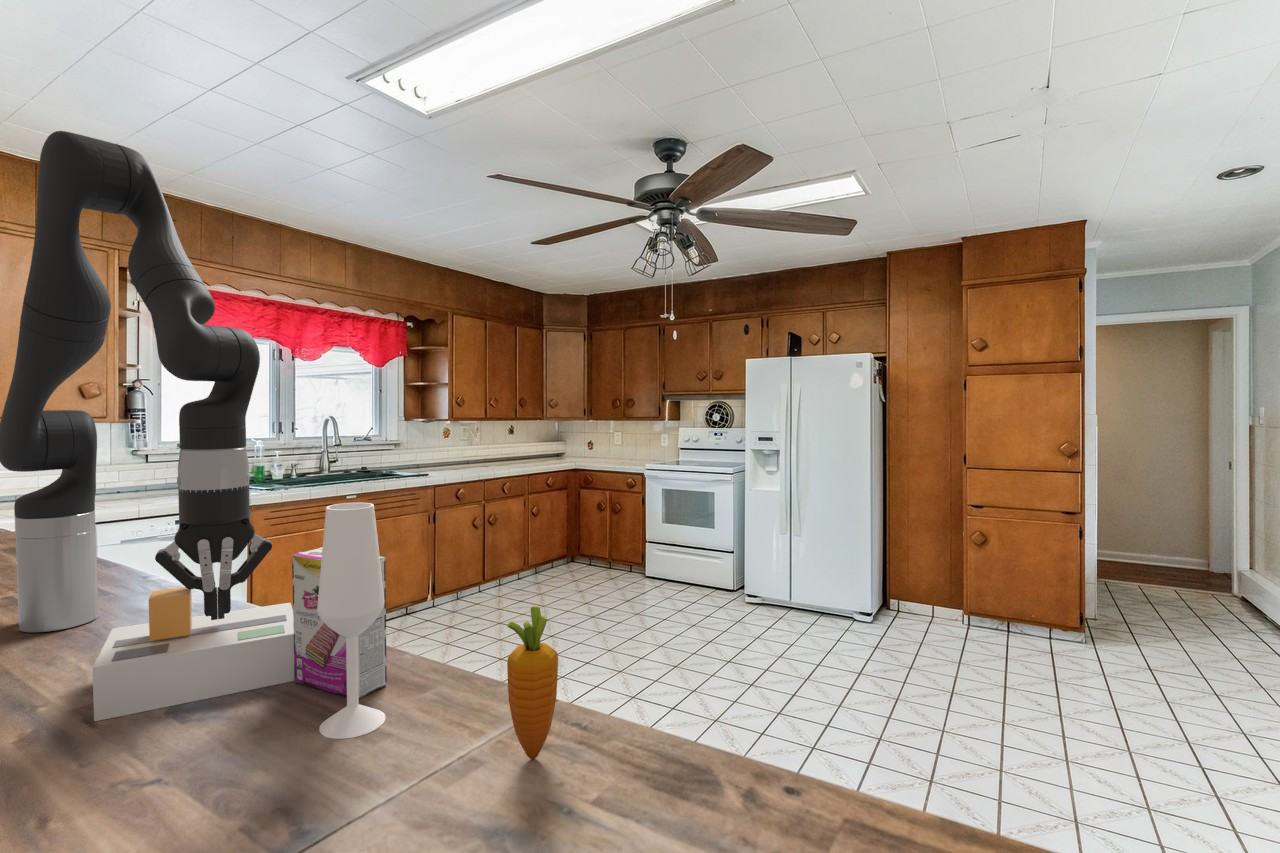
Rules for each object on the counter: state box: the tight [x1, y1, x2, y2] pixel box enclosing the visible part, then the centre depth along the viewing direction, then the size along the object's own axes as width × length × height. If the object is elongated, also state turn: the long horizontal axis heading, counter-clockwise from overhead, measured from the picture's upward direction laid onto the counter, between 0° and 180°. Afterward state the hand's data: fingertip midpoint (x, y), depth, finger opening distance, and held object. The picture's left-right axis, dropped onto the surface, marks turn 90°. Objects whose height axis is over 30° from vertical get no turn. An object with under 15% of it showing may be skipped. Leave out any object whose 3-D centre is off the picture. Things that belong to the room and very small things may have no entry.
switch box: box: [92, 602, 295, 722], centre depth 81 cm, size 14×20×6 cm
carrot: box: [506, 605, 559, 761], centre depth 63 cm, size 5×5×15 cm
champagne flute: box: [317, 502, 386, 740], centre depth 70 cm, size 7×7×24 cm
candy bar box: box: [291, 546, 388, 700], centre depth 79 cm, size 11×5×16 cm, turn 65°
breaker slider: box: [148, 586, 193, 641], centre depth 79 cm, size 4×4×5 cm
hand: (217, 617), depth 82 cm, fingers closed
